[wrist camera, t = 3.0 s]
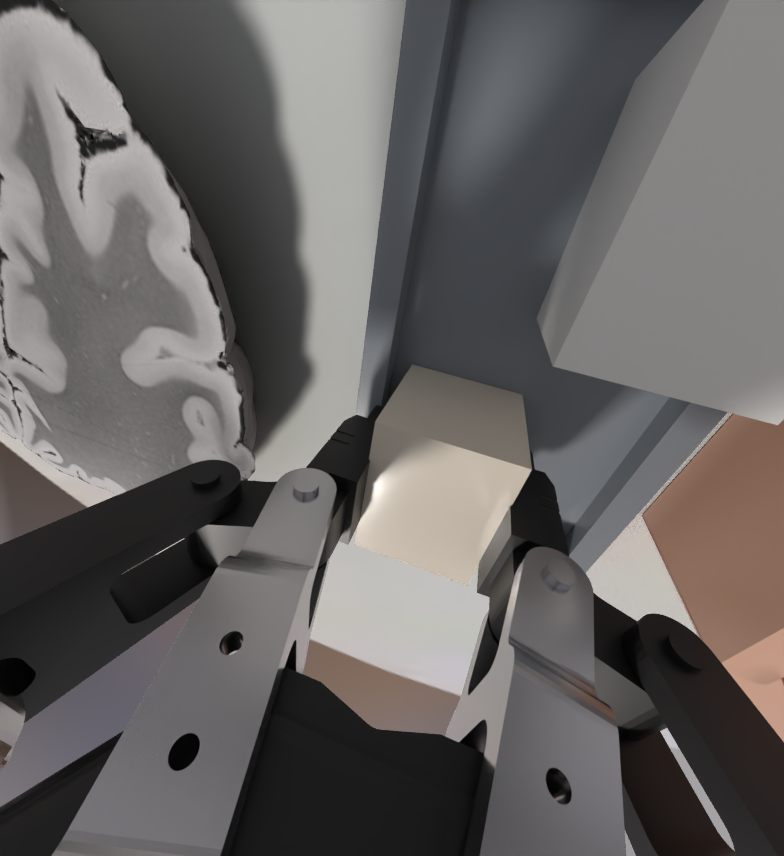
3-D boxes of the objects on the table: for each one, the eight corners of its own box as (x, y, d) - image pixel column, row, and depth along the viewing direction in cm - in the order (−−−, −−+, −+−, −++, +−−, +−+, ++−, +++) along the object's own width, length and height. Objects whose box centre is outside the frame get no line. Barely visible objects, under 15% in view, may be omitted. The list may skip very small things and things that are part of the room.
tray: (437, -83, 6) (424, -145, 5) (1050, -46, 5) (1196, -119, 4) (357, 475, 14) (345, 494, 13) (575, 549, 12) (581, 577, 11)
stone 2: (634, 79, 6) (759, -65, 3) (847, 106, 5) (1245, -36, 3) (536, 318, 8) (552, 366, 6) (676, 352, 8) (778, 424, 5)
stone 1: (412, 364, 10) (375, 421, 7) (522, 394, 10) (531, 469, 7) (389, 469, 12) (354, 544, 10) (476, 497, 12) (467, 585, 9)
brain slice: (410, 279, 10) (378, 297, 7) (230, 520, 19) (191, 563, 17) (-279, -369, 7) (-706, -695, 4) (-88, 287, 16) (-191, 298, 14)
